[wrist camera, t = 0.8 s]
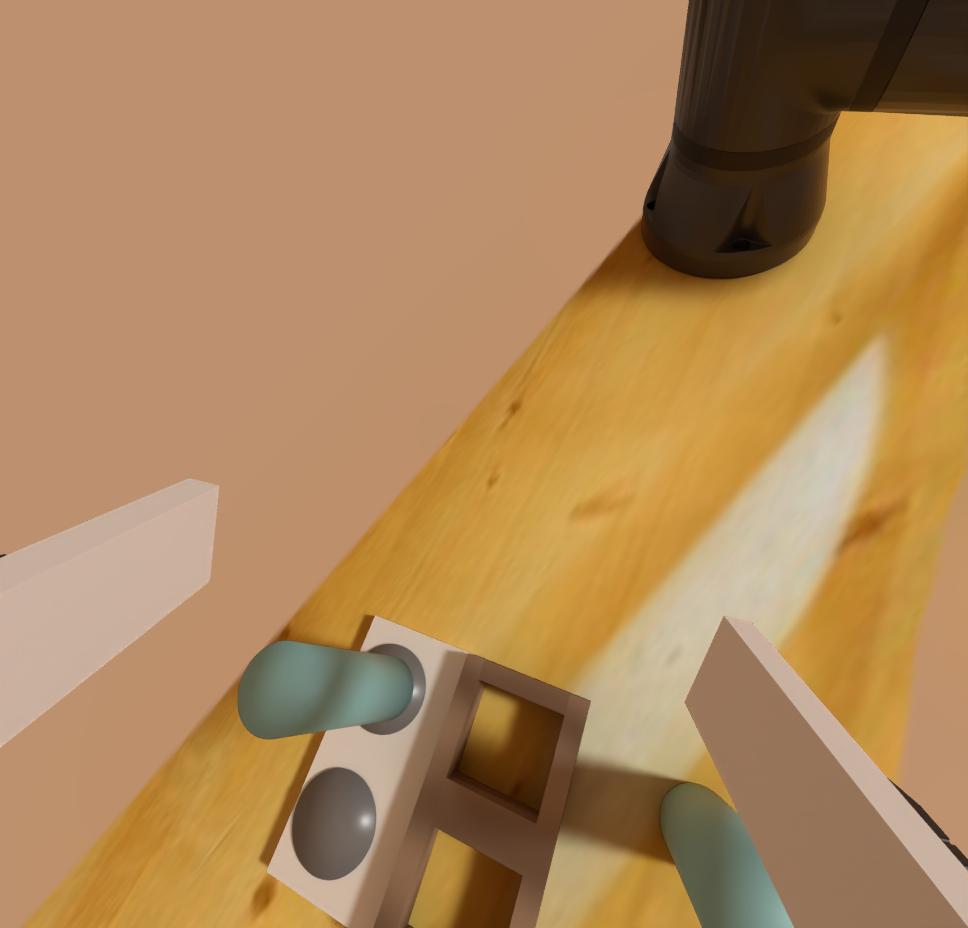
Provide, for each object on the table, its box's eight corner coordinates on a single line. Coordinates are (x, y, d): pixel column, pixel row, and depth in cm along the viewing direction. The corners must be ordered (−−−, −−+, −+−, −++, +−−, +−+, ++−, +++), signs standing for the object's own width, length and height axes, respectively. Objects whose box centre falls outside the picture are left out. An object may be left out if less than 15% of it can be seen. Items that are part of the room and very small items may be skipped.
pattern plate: (380, 617, 35) (374, 614, 33) (476, 655, 32) (472, 654, 31) (276, 865, 29) (264, 872, 28) (381, 937, 26) (372, 948, 25)
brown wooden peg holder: (476, 655, 32) (467, 653, 30) (590, 700, 29) (590, 701, 27) (381, 937, 26) (361, 960, 24) (511, 1026, 24) (502, 1060, 21)
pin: (393, 643, 32) (293, 622, 22) (425, 692, 30) (333, 694, 20) (348, 683, 32) (225, 681, 21) (378, 735, 30) (258, 761, 19)
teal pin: (692, 766, 27) (754, 817, 16) (753, 835, 25) (868, 944, 14) (644, 817, 26) (674, 905, 16) (703, 891, 24) (783, 1048, 14)
